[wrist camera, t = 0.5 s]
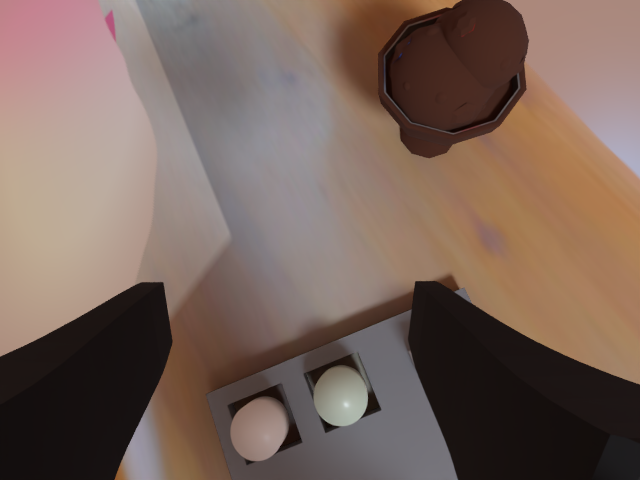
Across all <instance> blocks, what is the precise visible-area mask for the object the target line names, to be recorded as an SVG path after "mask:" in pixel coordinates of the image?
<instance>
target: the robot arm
mask: <svg viewBox="0 0 640 480" xmlns="http://www.w3.org/2000/svg"><path fill="white" fill-rule="evenodd" d="M408 342H409V346H410V350H411V354H412V358H413V362H414V365H415V369H416V372H417V374H418V377H419V379H420V382H421V384H422V387H423V389H424V392H425V394H426V396H427V399H428V401H429V404H430V406H431V408H432V411H433V413H434V415H435V418H436V420H437V423H438V425H439V427H440V430H441V432H442V435H443V437H444V439H445V442H446V445H447V447H448V450H449V453H450V456H451V459H452V462H453V465H454V469H455V472H456V475H457V479H458V480H640V385H639V384H636V383H633V382H631V381H628V380H625V379H622V378H620V377H617V376H614V375H611V374H609V373H606V372H604V371H601V370H599V369H596V368H594V367H591V366H589V365H586V364H584V363H581V362H579V361H577V360H574V359H572V358H570V357H567V356H565V355H563V354H561V353H559V352H557V351H555V350H552V349H550V348H548V347H546V346H544V345H542V344H540V343H538V342H536V341H534V340H532V339H530V338H528V337H526V336H525V335H523V334H521V333H519V332H517V331H516V330H514V329H512V328H510V327H509V326H507V325H505V324H503V323H502V322H500V321H499V320H497V319H495V318H494V317H492V316H490V315H489V314H487V313H486V312H484V311H482V310H481V309H479V308H478V307H476V306H475V305H473V304H472V303H470V302H469V301H467V300H466V299H464V298H463V297H461V296H460V295H458V294H457V293H455V292H453V291H452V290H450V289H449V288H447V287H446V286H444V285H442V284H440V283H439V282H437V281H415V288H414V296H413V304H412V311H411V319H410V327H409V334H408ZM171 346H172V335H171V329H170V322H169V316H168V310H167V303H166V297H165V290H164V284H163V282H141V283H139V284H137V285H135V286H133V287H131V288H129V289H127V290H126V291H124V292H122V293H120V294H118V295H116V296H115V297H113V298H111V299H110V300H108V301H106V302H105V303H103V304H101V305H99V306H98V307H96V308H94V309H92V310H91V311H89V312H87V313H86V314H84V315H82V316H80V317H79V318H77V319H75V320H73V321H71V322H69V323H67V324H66V325H64V326H62V327H60V328H58V329H57V330H54V331H53V332H51V333H49V334H47V335H45V336H43V337H41V338H39V339H37V340H35V341H33V342H31V343H29V344H27V345H25V346H23V347H21V348H18V349H16V350H14V351H12V352H9V353H7V354H5V355H3V356H1V357H0V480H114V479H115V476H116V474H117V471H118V468H119V466H120V463H121V461H122V459H123V456H124V454H125V452H126V449H127V447H128V445H129V443H130V441H131V439H132V437H133V435H134V432H135V430H136V428H137V426H138V424H139V422H140V420H141V418H142V416H143V414H144V412H145V410H146V408H147V406H148V404H149V402H150V399H151V397H152V395H153V393H154V391H155V389H156V387H157V385H158V383H159V380H160V378H161V376H162V374H163V371H164V368H165V365H166V362H167V359H168V356H169V352H170V349H171Z"/></svg>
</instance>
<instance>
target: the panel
mask: <svg viewBox="0 0 640 480" xmlns="http://www.w3.org/2000/svg"><path fill="white" fill-rule="evenodd" d="M454 292H455V293H457V294H458V295H460V296H461V297H463V298H464V299H466V300H467V301H469V302H470V303H471V300H470V298H469V296H468V294H467V292H466V290H465V288H462V289H459V290H457V291H454ZM411 311H412V309H411V310H408V311H406V312H403V313H401V314H398V315H396V316H394V317H391V318H389V319H386V320H384V321H382V322H379V323H377V324H374V325H372V326H369V327H367V328H365V329H362V330H360V331H357V332H355V333H352V334H350V335H348V336H345V337H343V338H340V339H338V340H335V341H333V342H331V343H328V344H326V345H323V346H321V347H318V348H316V349H314V350H311V351H309V352H306V353H304V354H302V355H299V356H297V357H294V358H292V359H289V360H287V361H285V362H282V363H280V364H277V365H275V366H272V367H270V368H268V369H265V370H263V371H260V372H258V373H255V374H253V375H251V376H248V377H246V378H243V379H241V380H238V381H236V382H234V383H231V384H229V385H226V386H224V387H222V388H219V389H217V390H214V391H212V392H210V393H207V394H206V397H207V400H208V403H209V407H210V410H211V413H212V416H213V420H214V423H215V426H216V429H217V433H218V436H219V439H220V442H221V446H222V449H223V452H224V456H225V459H226V462H227V465H228V469H229V472H230V475H231V478H232V480H458V479H457V475H456V472H455V469H454V465H453V462H452V459H451V456H450V453H449V450H448V447H447V445H446V442H445V439H444V437H443V435H442V432H441V430H440V427H439V425H438V423H437V420H436V418H435V415H434V413H433V411H432V408H431V406H430V404H429V401H428V399H427V396H426V394H425V392H424V389H423V387H422V384H421V382H420V379H419V377H418V374H417V372H416V369H415V365H414V362H413V358H412V354H411V350H410V346H409V342H408V334H409V327H410V319H411ZM357 351H358V353H359V356H360V358H361V361H362V363H363V366H364V368H365V371H366V373H367V375H368V378H369V380H370V383H371V385H372V388H373V390H374V393H375V395H376V398H377V400H378V402H379V405H380V407H378V408H376V409H373V410H371V411H368V412H366V413H364V414H363V415H362V416H361V418H360V419H359V420H358V421H356V422H355V423H353V424H351V425H348V426H335V425H334V426H332V427H330V428H326V425H325V423H324V420H323V418H322V417H321V416H320V415H319V414H318V412H317V410H316V408H315V405H314V398H313V395H314V393H313V390H312V388H311V385H310V382H309V380H308V377H307V374H306V372H309V371H311V370H314V369H316V368H318V367H321V366H323V365H326V364H328V363H331V362H333V361H335V360H338V359H340V358H343V357H345V356H348V355H350V354H352V353H355V352H357ZM280 383H282V385H283V388H284V391H285V394H286V397H287V399H288V402H289V405H290V408H291V411H292V414H293V416H294V419H295V422H296V425H297V428H298V431H299V433H300V436H301V439H300V440H298V441H295V442H293V443H291V444H288V445H286V446H283V447H281V448H279V449H278V450H277V452H276V453H275V454H274V455H272V456H271V457H270V458H268V459H266V460H262V461H251V460H248V459H246V458H244V457H242V456H241V455H240V454H239V453H238V452H237V451H236V449H235V448H234V446H233V444H232V440H231V435H230V430H231V424H232V421H233V418H234V416H235V415H236V410H235V407H234V404H233V403H234V402H236V401H238V400H241V399H243V398H246V397H248V396H250V395H253V394H255V393H258V392H260V391H263V390H265V389H267V388H270V387H272V386H275V385H277V384H280Z"/></svg>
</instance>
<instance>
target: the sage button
mask: <svg viewBox="0 0 640 480" xmlns="http://www.w3.org/2000/svg"><path fill="white" fill-rule="evenodd" d="M313 398H314V405H315V408H316V410H317V412H318V414H319V415H320V416H321V417H322V418H323V419H324V420H325V421H326V422H328V423H330V424H332V425H335V426H348V425H351V424H353V423H355V422H356V421H358V420H359V419H360V418H361V416H362V415H363V414H364V412H365V410H366V407H367V402H368V394H367V387H366V383H365V381H364V378H363V377H362V375H361V374H360V373H359V372H358V371H357V370H355V369H354V368H352V367H350V366H346V365H337V366H333V367H331V368H329V369H328V370H326V371H325V372H324V373H323V374H322V376H321V377H320V379H319V380H318V382H317V384H316V386H315V389H314V395H313Z"/></svg>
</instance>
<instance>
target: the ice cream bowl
mask: <svg viewBox="0 0 640 480" xmlns="http://www.w3.org/2000/svg"><path fill="white" fill-rule="evenodd" d="M528 42H529V40H528V36H527V31H526V27H525V24H524V21H523V18H522V15H521V14H520V13H519V12H518V11H517V10H516V9H515V8H514V7H513V6H512V5H511V4H510V3H508V2H506V1H503V0H462V1H460V2H458V3H456V4H455V5H454V6H453V8H444V9H441V10H438V11H435V12H431V13H428V14H425V15H422V16H419V17H416V18H413V19H410V20H407V21H404V22H403V24H402V25H401V26H400V27H399V29H398V30H397V31H396V32H395V34H394V35H393V36H392V37H391V39H390V40H389V41H388V42H387V44H386V45H385V46H384V47H383V49H382V50H381V51H380V52H379V54H378V82H379V98H380V101H381V104H382V105H383V107H384V108H385V109H386V110H387V111H388V112H389V114H390V115H391V116H392V117H393V118H394V120H395V121H396V122H397V123H398V124H399V126H400V127H401V141H402V142H403V144H404V145H405V146H406V147H407V148H408V150H409V151H410V152H411V153H412V154H416V155H419V156H423V157H426V158H431V157H435V156H438V155H441V154H444V153H447V151H448V150H449V148H450V147H451V146H452V144H455V143H458V142H462V141H465V140H468V139H471V138H474V137H477V136H480V135H484V134H487V133H490V132H492V131H493V130H495V129H496V128H497V127H499V126H500V125H501V124H502V122H503V121H504V119H505V118H506V117H507V115H508V114H509V113H510V111H511V110H512V109H513V107H514V106H515V104H516V103H517V102H518V100H519V99H520V98H521V96H522V95H523V93H524V92H525V91H526V80H525V69H524V61H525V56H526V54H527V49H528Z"/></svg>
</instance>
